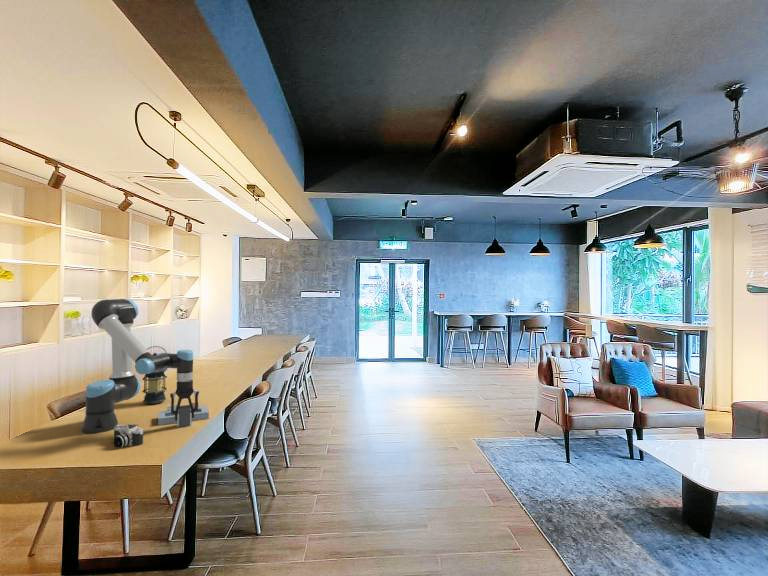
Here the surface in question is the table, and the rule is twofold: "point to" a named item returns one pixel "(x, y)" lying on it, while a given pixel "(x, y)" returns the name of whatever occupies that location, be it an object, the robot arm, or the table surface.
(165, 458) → the table surface
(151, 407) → the table surface
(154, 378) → the lantern
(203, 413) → the socket block
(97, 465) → the table surface
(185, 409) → the plug
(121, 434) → the camera
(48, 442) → the table surface
